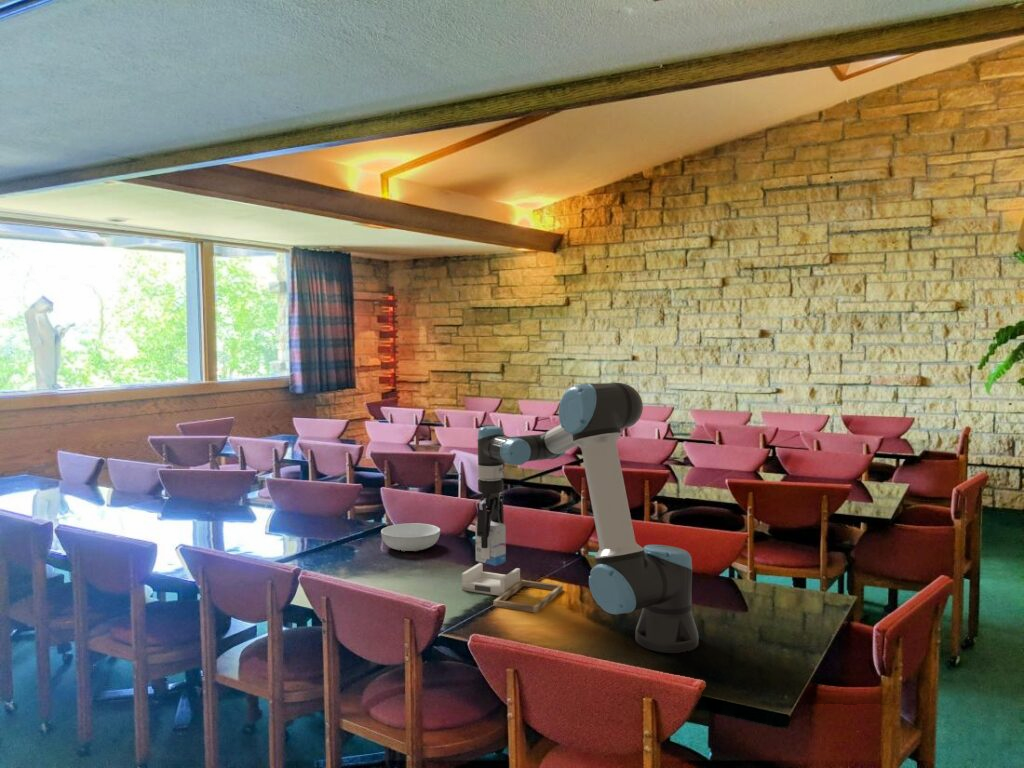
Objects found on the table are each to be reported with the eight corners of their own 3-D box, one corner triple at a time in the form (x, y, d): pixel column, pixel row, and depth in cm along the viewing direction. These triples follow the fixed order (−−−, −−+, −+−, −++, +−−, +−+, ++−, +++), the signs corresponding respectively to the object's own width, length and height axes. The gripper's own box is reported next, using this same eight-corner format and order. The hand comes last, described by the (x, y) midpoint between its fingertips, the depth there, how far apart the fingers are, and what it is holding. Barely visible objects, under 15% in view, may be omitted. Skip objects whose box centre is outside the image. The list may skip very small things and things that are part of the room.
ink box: (507, 562, 223) (506, 523, 222) (495, 566, 219) (495, 526, 218) (486, 556, 229) (485, 518, 228) (474, 560, 225) (474, 521, 224)
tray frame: (536, 612, 203) (536, 607, 203) (493, 606, 208) (493, 600, 208) (562, 590, 221) (562, 585, 221) (522, 584, 226) (522, 579, 226)
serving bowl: (437, 556, 257) (436, 537, 256) (376, 556, 257) (375, 537, 256) (443, 540, 277) (443, 522, 277) (387, 540, 278) (386, 522, 277)
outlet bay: (503, 596, 216) (503, 579, 215) (461, 590, 221) (461, 573, 221) (520, 584, 226) (520, 568, 226) (479, 579, 232) (479, 563, 232)
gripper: (487, 485, 212) (487, 565, 213) (515, 474, 229) (515, 548, 231) (464, 483, 215) (464, 562, 216) (493, 472, 232) (493, 545, 234)
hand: (490, 555), depth 224 cm, fingers closed on ink box, 6 cm apart
